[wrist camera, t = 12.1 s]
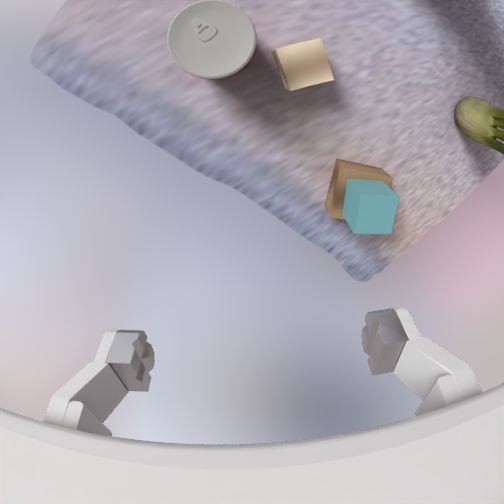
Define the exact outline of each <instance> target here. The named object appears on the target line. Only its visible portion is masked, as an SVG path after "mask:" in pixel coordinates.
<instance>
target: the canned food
mask: <svg viewBox="0 0 504 504" xmlns="http://www.w3.org/2000/svg"><path fill="white" fill-rule="evenodd" d="M256 42H257V38H256V31H255V27H254V25H253V23H252V21H251V19H250V18H249V16H248V15H247V14H246V13H245V12H244V11H243V10H242V9H241V8H239V7H238V6H236V5H234V4H232V3H230V2H227V1H224V0H201V1H197V2H194V3H192V4H190V5H188V6H186V7H185V8H183V9H182V10H181V11H180V12H179V13H178V14H177V15H176V16H175V17H174V19H173V20H172V22H171V23H170V26H169V29H168V32H167V47H168V50H169V53H170V55H171V57H172V59H173V60H174V62H175V63H176V64H177V65H178V66H179V67H180V68H181V69H183V70H184V71H185V72H187V73H189V74H191V75H193V76H196V77H199V78H205V79H220V78H225V77H228V76H231V75H234V74H236V73H238V72H240V71H241V70H242V69H243V68H245V67H246V66H247V64H248V63H249V61H250V60H251V58H252V56H253V54H254V51H255V48H256Z"/></svg>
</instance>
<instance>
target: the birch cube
mask: <svg viewBox="0 0 504 504" xmlns="http://www.w3.org/2000/svg"><path fill="white" fill-rule="evenodd" d="M272 54H273V57H274V60H275V62H276V65H277V68H278V71H279V73H280V76H281V79H282V82H283V85H284V88H285V89H287V90H289V91H292V90H296V89H300V88H303V87H307V86H311V85H315V84H319V83H323V82H328V81H332V80H334V78H333V75H332V71H331V68H330V65H329V62H328V59H327V56H326V53H325V50H324V47H323V44H322V41H321V38H319V39H314V40H310V41H305V42H301V43H297V44H293V45H289V46H285V47H281V48H277V49H275V50H273V51H272Z"/></svg>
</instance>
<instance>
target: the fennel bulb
mask: <svg viewBox="0 0 504 504" xmlns="http://www.w3.org/2000/svg"><path fill="white" fill-rule="evenodd" d="M454 116H455V121H456V123H457V125H458V127H459V128H460V129H461V130H462V131H463V132H464V133H465V134H466V135H467V136H469V137H470V138H472V139H473V140H475V141H477V142H478V143H481V144H484V145H486V146H489V147H491V148H493V149H495V150H497V151H499V152H500V153H502V154H504V144H503V143H501V142H500V141H498V140H496V138H498V139H500V140H503V141H504V131H501V130H499V129H497V127H499V128H502V129H504V110H502V109H499V108H497V107H495V106H493V105H491V104H490V103H488V102H486V101H484V100H482V99H479V98H476V97H471V96H468V97H465V98H464V99H463V100H460V101H459V102H458V103H457V105H456V107H455V114H454Z"/></svg>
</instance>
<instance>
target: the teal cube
mask: <svg viewBox="0 0 504 504" xmlns="http://www.w3.org/2000/svg"><path fill="white" fill-rule="evenodd" d="M398 201H399V196H398V195H397V194H396V193H395V192H394V191H393V190H392V189H391V188H390V187H389V186H388V185H387V184H386V183H385V182H383V181H376V180H361V179H347V185H346V192H345V199H344V206H343V213H342V215H343V217H344V218H345V220H346V222H347V223H348V225H349V227H350V228H351V230H352V232H353V233H354V234H391V232H392V228H393V223H394V219H395V215H396V210H397V206H398Z"/></svg>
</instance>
